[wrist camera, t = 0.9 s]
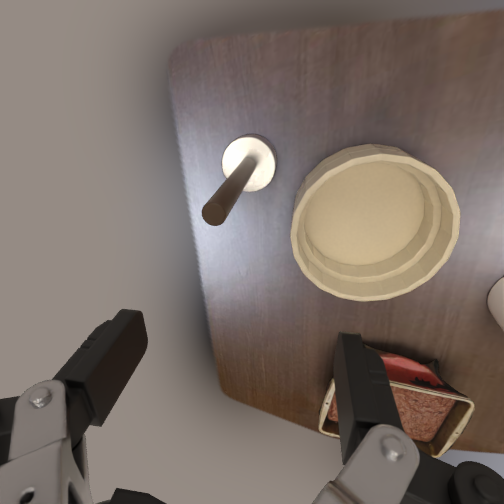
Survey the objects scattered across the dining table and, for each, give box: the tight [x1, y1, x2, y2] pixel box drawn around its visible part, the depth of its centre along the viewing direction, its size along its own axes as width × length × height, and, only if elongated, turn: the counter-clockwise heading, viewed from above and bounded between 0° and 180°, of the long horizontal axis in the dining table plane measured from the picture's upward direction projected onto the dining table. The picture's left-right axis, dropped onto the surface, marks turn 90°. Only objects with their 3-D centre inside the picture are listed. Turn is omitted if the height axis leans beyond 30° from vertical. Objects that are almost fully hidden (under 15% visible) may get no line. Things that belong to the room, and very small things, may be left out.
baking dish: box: [318, 344, 475, 458], centre depth 43 cm, size 14×18×10 cm
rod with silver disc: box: [202, 134, 277, 226], centre depth 27 cm, size 6×6×16 cm
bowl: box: [290, 144, 460, 301], centre depth 32 cm, size 15×15×6 cm
